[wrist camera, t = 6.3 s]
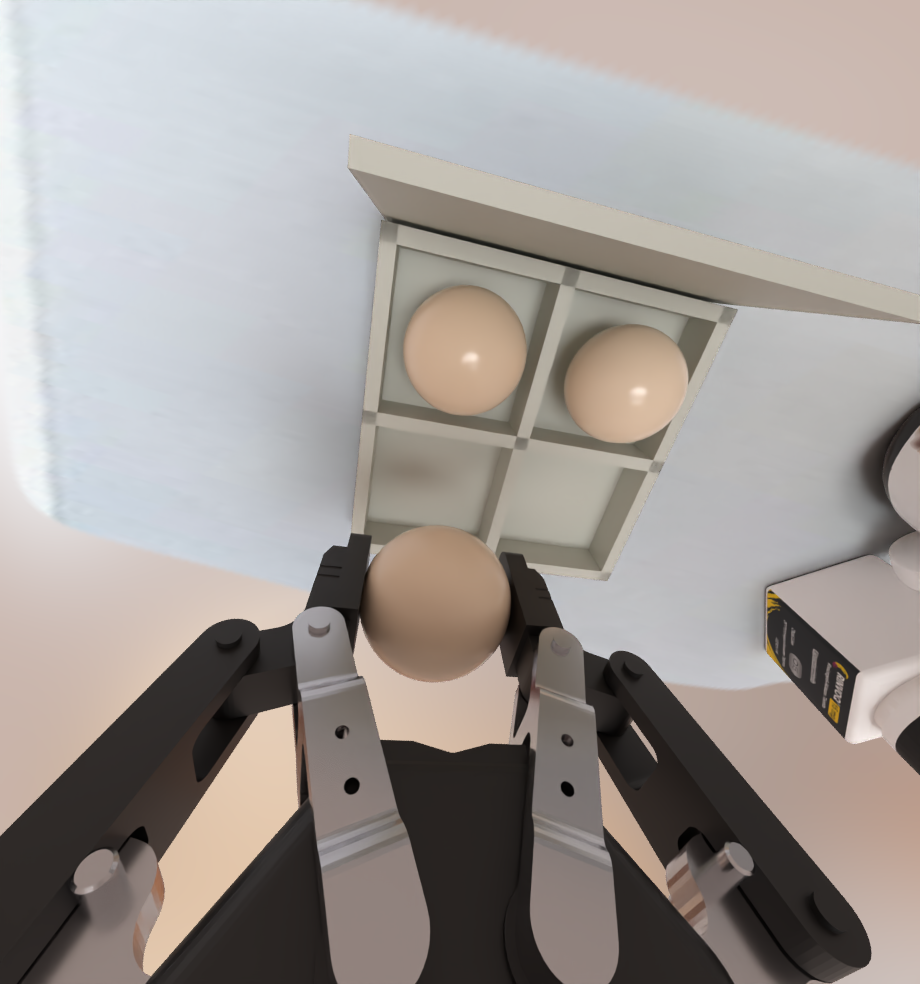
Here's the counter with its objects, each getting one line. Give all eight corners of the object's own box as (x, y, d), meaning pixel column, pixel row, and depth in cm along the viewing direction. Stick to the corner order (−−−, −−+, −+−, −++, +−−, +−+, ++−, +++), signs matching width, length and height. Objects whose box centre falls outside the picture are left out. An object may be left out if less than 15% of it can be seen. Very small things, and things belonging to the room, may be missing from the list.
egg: (512, 507, 14) (549, 605, 10) (481, 607, 17) (501, 721, 12) (375, 489, 14) (356, 586, 9) (362, 595, 16) (341, 714, 12)
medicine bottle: (763, 585, 27) (975, 780, 17) (872, 550, 27) (1166, 732, 16) (763, 651, 31) (939, 848, 20) (860, 621, 30) (1096, 810, 19)
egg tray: (707, 289, 18) (949, 303, 10) (591, 553, 25) (675, 695, 16) (389, 207, 16) (349, 134, 7) (356, 523, 22) (316, 671, 14)
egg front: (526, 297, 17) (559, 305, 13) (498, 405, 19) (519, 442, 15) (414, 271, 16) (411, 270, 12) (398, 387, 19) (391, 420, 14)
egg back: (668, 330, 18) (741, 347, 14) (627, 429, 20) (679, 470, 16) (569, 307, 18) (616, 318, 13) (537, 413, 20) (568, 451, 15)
